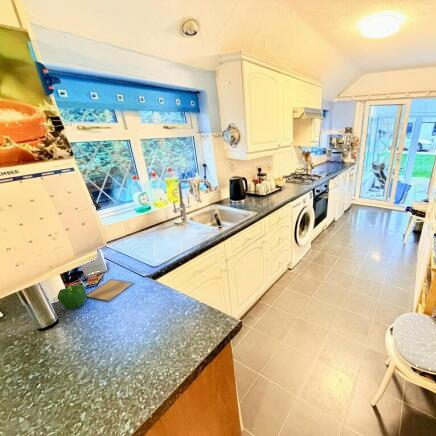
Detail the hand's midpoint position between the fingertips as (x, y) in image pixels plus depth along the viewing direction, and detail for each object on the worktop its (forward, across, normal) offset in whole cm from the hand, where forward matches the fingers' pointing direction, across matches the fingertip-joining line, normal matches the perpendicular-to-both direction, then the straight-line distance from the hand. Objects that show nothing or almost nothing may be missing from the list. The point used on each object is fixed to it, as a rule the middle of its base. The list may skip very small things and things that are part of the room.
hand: (77, 225), depth 112 cm
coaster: (+35, +6, -4) cm, 36 cm away
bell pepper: (+37, -6, -5) cm, 38 cm away
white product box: (+21, +3, +14) cm, 25 cm away
